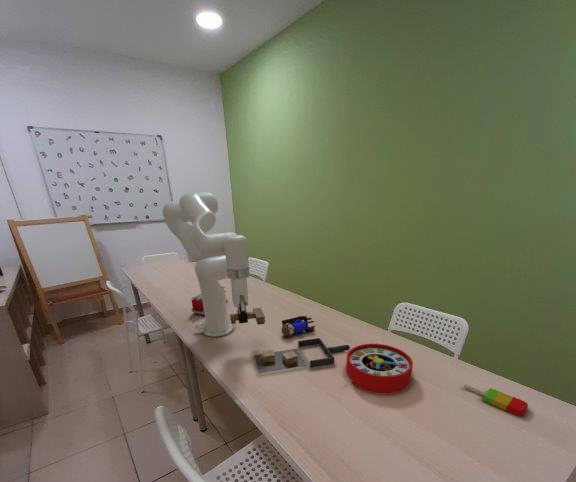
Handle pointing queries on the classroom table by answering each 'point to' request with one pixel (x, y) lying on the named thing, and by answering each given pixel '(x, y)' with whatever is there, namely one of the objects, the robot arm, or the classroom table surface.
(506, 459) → the classroom table surface
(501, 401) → the popsicle
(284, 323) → the character figurine
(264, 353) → the cork chip
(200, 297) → the toy fire truck
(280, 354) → the tray
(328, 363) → the dustpan
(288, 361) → the cork chip
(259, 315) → the brush
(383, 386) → the toy clock
